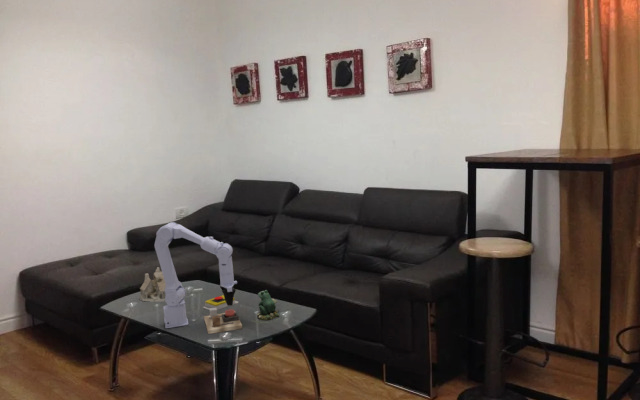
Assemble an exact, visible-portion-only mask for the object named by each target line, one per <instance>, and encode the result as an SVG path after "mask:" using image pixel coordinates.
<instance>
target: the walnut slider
mask: <svg viewBox="0 0 640 400" xmlns="http://www.w3.org/2000/svg"><path fill="white" fill-rule="evenodd" d="M212 323H213V327H215V326H221V324H220V316H219V315H217V316H212Z"/></svg>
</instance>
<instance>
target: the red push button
mask: <svg viewBox="0 0 640 400" xmlns="http://www.w3.org/2000/svg"><path fill="white" fill-rule="evenodd" d="M224 313H225V316H226V317H231V316H234V315H235V309H234V308H228V309H226V310H225V311H224Z"/></svg>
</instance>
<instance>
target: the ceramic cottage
mask: <svg viewBox="0 0 640 400" xmlns="http://www.w3.org/2000/svg"><path fill="white" fill-rule="evenodd" d="M165 287H166V283H165V280H164V277H163V273H162V271H161V268H160V267H156V269H155V272H153V276H152V279H151V278H150V274H149V273H144V281H143V283H142V284H141V286H140V287H139V289H140V292H139V293H140V295H139V299H140V300H142V301H141V302H144V301H150V303H151V302H152V303H160V302H161V303H162V302H166V301H165V296H166V294H165ZM140 300H139V301H140Z"/></svg>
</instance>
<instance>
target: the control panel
mask: <svg viewBox="0 0 640 400" xmlns="http://www.w3.org/2000/svg"><path fill="white" fill-rule="evenodd" d="M234 311H235V310H234ZM217 315H219V316H220V324H221V326H215V327H213V323H212V318H210V314H209V315H204V316H203V320H204V324H205V327H206V330H207V334H208V335H209V334H218V333H223V332H229V331H234V330H235V331H236V330H242V329H243V324H242V322H241V320H240V317H239V314H238V312H237V311H235V315H234V316H231V317H226V316H225V312H222V313H217Z"/></svg>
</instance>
